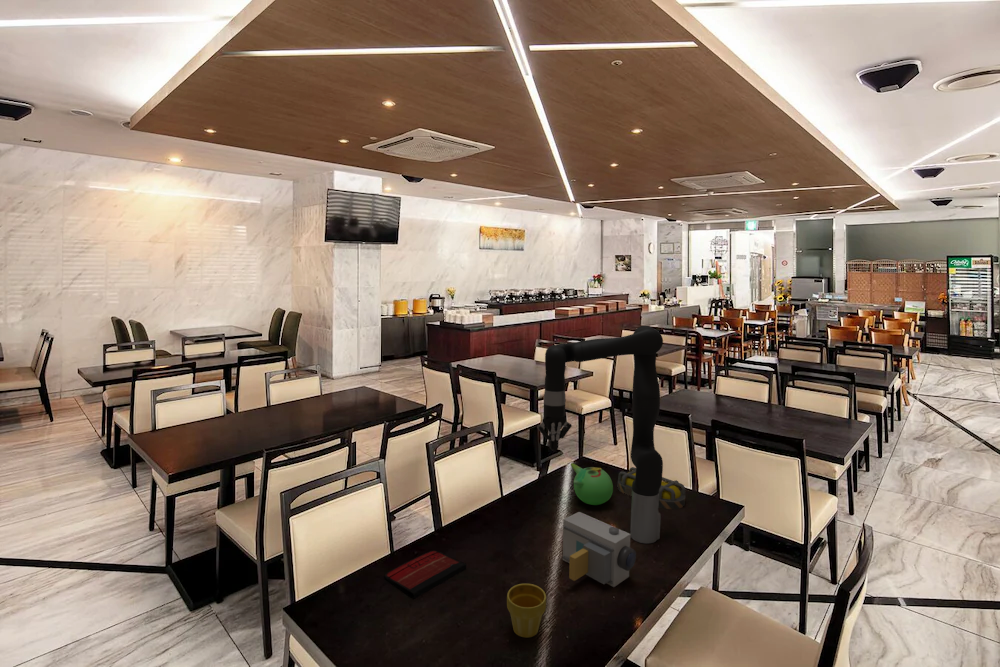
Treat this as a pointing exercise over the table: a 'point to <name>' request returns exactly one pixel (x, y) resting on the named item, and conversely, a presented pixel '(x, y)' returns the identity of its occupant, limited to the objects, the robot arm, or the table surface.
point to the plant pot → (526, 608)
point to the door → (591, 563)
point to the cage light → (667, 493)
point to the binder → (424, 572)
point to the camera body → (599, 543)
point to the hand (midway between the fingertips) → (553, 450)
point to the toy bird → (592, 485)
